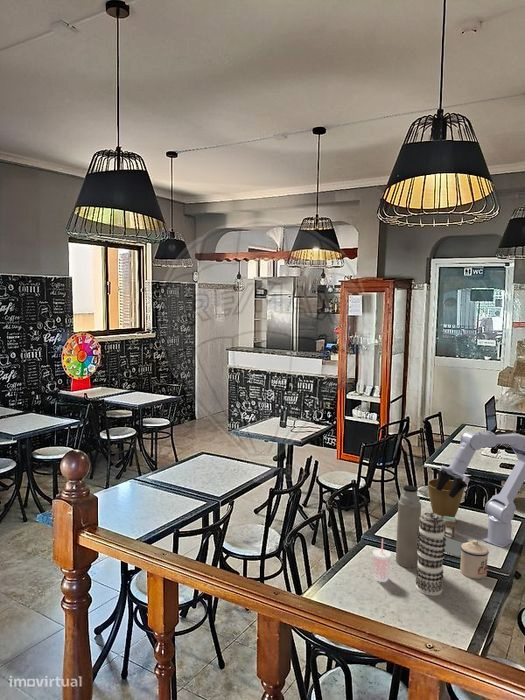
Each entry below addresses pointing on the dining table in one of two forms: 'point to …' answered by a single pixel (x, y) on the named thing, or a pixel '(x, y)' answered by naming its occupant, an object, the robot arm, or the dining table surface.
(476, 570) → the teacup with lid
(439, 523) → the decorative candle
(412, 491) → the thermos bottle
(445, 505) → the plant pot
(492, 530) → the robot arm
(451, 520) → the stool
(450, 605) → the dining table surface
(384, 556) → the beverage cup
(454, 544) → the mat
